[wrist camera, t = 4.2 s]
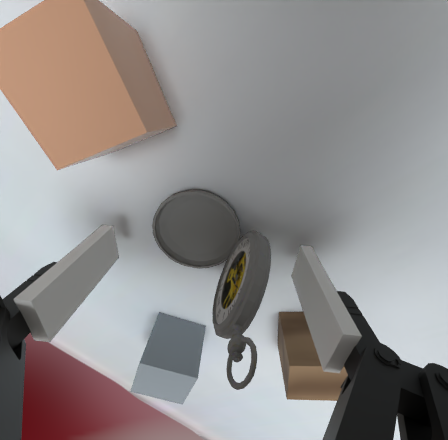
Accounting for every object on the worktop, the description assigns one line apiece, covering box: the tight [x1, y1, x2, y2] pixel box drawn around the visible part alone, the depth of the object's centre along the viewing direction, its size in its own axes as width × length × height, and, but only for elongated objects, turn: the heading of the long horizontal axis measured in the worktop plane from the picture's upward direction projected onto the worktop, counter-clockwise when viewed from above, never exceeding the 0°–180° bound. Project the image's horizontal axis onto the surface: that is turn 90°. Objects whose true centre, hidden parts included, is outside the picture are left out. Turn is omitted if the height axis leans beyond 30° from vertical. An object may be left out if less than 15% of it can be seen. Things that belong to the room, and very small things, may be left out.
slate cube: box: [131, 312, 206, 404], centre depth 21 cm, size 5×5×5 cm
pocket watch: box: [152, 190, 271, 390], centre depth 13 cm, size 8×8×10 cm
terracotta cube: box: [0, 0, 177, 170], centre depth 11 cm, size 5×5×5 cm
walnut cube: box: [278, 312, 348, 401], centre depth 19 cm, size 5×5×5 cm
